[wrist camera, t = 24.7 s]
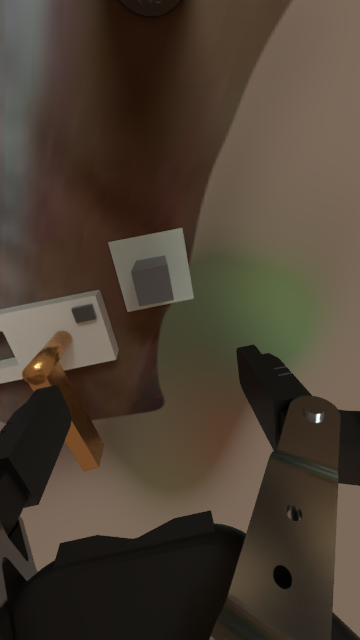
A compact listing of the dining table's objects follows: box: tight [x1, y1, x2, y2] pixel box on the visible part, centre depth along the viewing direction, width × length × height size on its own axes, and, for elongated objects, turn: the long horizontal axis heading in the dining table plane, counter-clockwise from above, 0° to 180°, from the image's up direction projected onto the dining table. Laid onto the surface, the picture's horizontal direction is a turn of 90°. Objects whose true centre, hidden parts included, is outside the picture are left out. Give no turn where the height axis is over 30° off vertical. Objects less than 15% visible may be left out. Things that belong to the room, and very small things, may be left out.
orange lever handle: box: [22, 331, 104, 471], centre depth 33 cm, size 2×16×9 cm, turn 15°
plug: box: [131, 255, 174, 306], centre depth 31 cm, size 4×4×8 cm
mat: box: [108, 228, 194, 312], centre depth 35 cm, size 10×10×1 cm
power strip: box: [0, 290, 119, 384], centre depth 35 cm, size 10×22×4 cm, turn 100°
